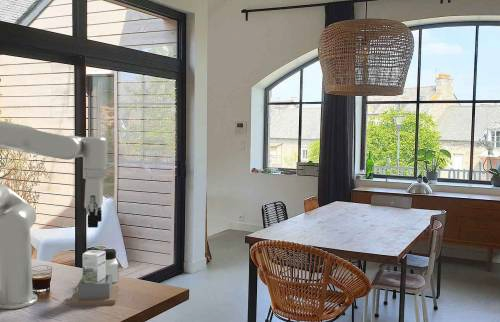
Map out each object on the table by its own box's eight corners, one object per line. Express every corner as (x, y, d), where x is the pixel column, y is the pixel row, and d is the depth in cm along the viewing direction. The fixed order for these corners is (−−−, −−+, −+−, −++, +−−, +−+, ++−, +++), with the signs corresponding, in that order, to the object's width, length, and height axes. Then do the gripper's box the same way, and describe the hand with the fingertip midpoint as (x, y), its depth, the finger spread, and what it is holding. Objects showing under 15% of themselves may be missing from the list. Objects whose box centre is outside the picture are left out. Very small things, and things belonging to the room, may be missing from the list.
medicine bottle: (118, 282, 185) (118, 250, 184) (98, 284, 183) (98, 252, 182) (116, 276, 192) (116, 246, 191) (97, 278, 189) (96, 247, 188)
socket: (70, 306, 160) (70, 286, 160) (77, 292, 174) (77, 273, 173) (115, 304, 163) (115, 285, 162) (118, 290, 176) (118, 272, 176)
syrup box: (106, 291, 170) (106, 250, 169) (97, 297, 164) (97, 254, 163) (91, 290, 171) (91, 249, 170) (82, 296, 166) (81, 253, 165)
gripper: (86, 171, 173) (86, 219, 174) (78, 176, 156) (78, 230, 157) (109, 171, 174) (108, 219, 176) (103, 176, 157) (103, 229, 159)
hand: (94, 224), depth 166 cm, fingers open, 9 cm apart
